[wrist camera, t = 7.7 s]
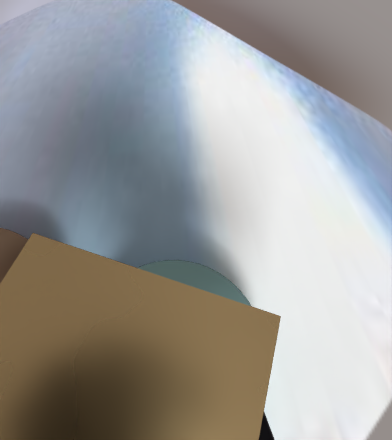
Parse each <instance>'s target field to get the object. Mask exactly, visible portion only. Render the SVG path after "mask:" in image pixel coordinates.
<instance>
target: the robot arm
mask: <svg viewBox="0 0 392 440" xmlns="http://www.w3.org/2000/svg"><path fill="white" fill-rule="evenodd" d="M259 440H274V437H273V434H272V432H271V429H270V426H269V424H268V421H267V418H266V416H265V413H264V412H263V418H262V424H261V429H260V435H259Z"/></svg>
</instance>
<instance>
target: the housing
mask: <svg viewBox="0 0 392 440" xmlns="http://www.w3.org/2000/svg"><path fill="white" fill-rule="evenodd" d="M280 318H281V316H278V315H275V314H272V313H269V312H266V311H263V310H260V309H257V308H255V307H252V306H249V305H246V304H243V303H240V302H237V301H234V300H231V299H228V298H225V297H222V296H219V295H216V294H213V293H210V292H207V291H204V290H201V289H198V288H195V287H192V286H189V285H186V284H183V283H180V282H177V281H174V280H171V279H168V278H165V277H162V276H159V275H156V274H153V273H151V272H148V271H145V270H142V269H139V268H136V267H133V266H130V265H127V264H124V263H121V262H118V261H115V260H112V259H109V258H106V257H103V256H100V255H97V254H94V253H91V252H88V251H85V250H82V249H79V248H76V247H73V246H70V245H67V244H64V243H61V242H58V241H55V240H52V239H49V238H47V237H44V236H41V235H38V234H35V233H32V235H31V237H30V238H29V240H28V241H27V243H26V244H25V246H24V247H23V249H22V251H21V252H20V254H19V255H18V257H17V258H16V260H15V261H14V263H13V265H12V266H11V268H10V269H9V271H8V272H7V274H6V276H5V277H4V279H3V280H2V282H1V283H0V440H259V435H260V429H261V424H262V418H263V412H264V407H265V401H266V396H267V390H268V385H269V379H270V373H271V368H272V362H273V357H274V351H275V346H276V340H277V334H278V329H279V323H280Z"/></svg>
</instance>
